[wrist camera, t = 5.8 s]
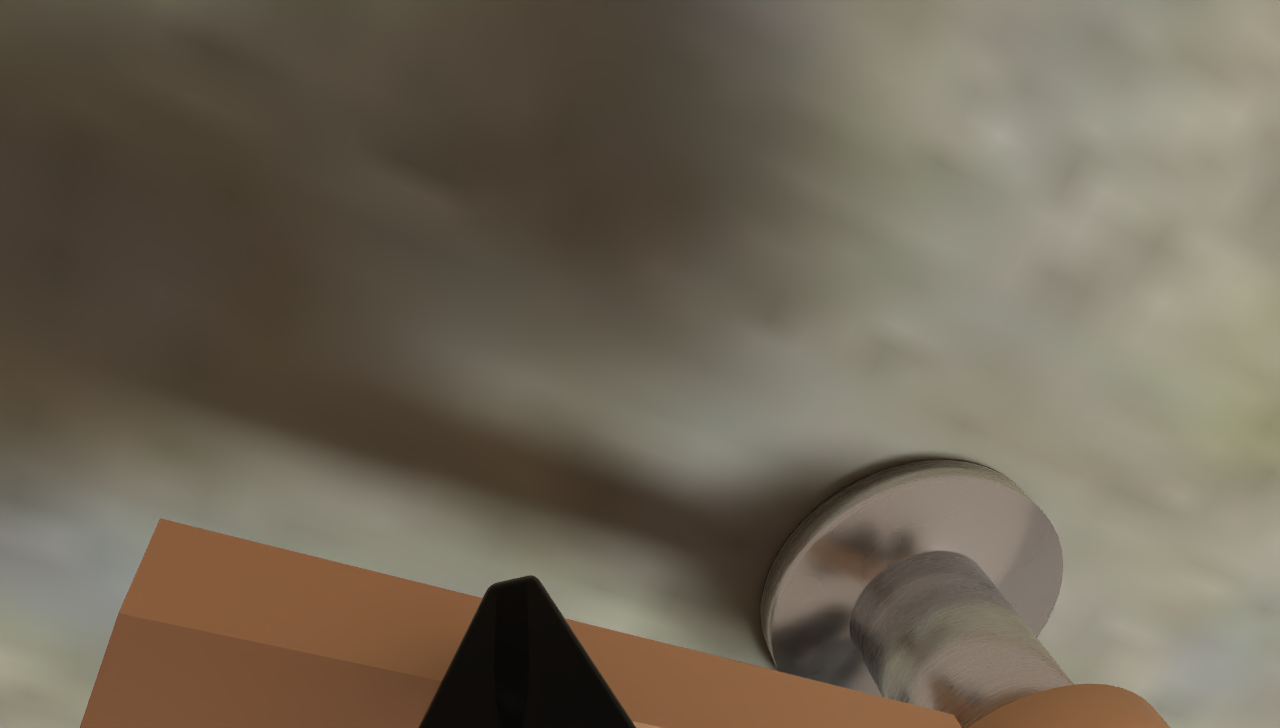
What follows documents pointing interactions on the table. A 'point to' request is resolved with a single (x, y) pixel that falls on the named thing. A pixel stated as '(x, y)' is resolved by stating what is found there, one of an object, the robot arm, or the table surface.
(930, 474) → the post
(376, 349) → the table surface
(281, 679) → the lever
